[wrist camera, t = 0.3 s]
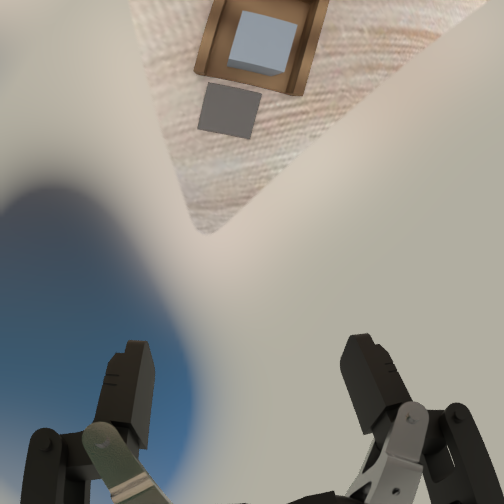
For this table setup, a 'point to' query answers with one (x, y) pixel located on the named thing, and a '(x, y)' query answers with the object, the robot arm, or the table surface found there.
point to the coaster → (229, 110)
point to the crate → (273, 5)
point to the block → (261, 44)
